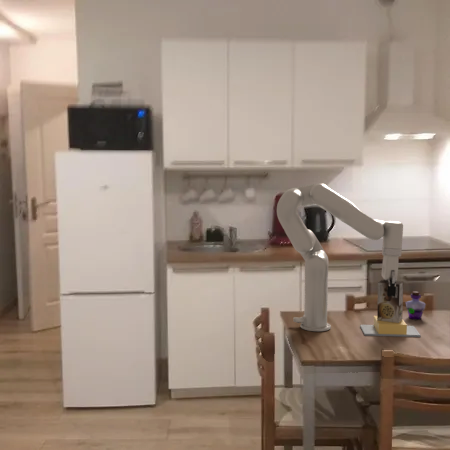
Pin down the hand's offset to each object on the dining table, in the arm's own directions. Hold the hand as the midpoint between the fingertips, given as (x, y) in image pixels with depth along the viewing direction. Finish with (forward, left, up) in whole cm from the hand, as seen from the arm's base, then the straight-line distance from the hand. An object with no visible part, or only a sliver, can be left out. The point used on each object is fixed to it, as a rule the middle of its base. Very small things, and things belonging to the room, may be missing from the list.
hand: (388, 293), depth 249 cm
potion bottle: (+16, +22, -16) cm, 32 cm away
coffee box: (+1, 0, -12) cm, 12 cm away
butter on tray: (+1, 0, -16) cm, 16 cm away
